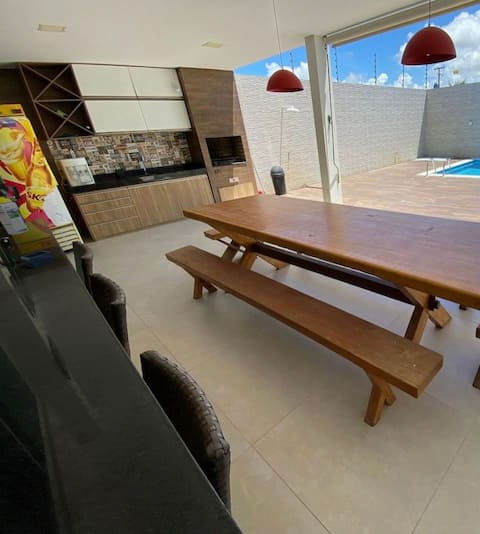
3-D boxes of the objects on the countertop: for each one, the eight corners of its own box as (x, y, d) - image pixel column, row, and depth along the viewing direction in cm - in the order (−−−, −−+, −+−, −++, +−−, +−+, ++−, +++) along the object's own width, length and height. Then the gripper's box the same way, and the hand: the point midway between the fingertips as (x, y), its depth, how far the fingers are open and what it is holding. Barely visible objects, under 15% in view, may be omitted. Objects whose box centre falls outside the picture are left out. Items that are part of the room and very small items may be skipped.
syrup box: (18, 234, 147) (1, 204, 140) (8, 234, 148) (-9, 204, 141) (31, 230, 152) (15, 201, 146) (21, 230, 153) (5, 201, 146)
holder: (34, 268, 144) (28, 258, 142) (26, 266, 147) (20, 256, 145) (55, 261, 151) (50, 252, 148) (46, 259, 154) (41, 250, 151)
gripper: (5, 172, 145) (23, 207, 152) (-40, 177, 133) (-17, 214, 141) (12, 172, 142) (31, 207, 149) (-33, 177, 131) (-10, 215, 138)
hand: (7, 211), depth 145 cm, fingers closed on syrup box, 6 cm apart
